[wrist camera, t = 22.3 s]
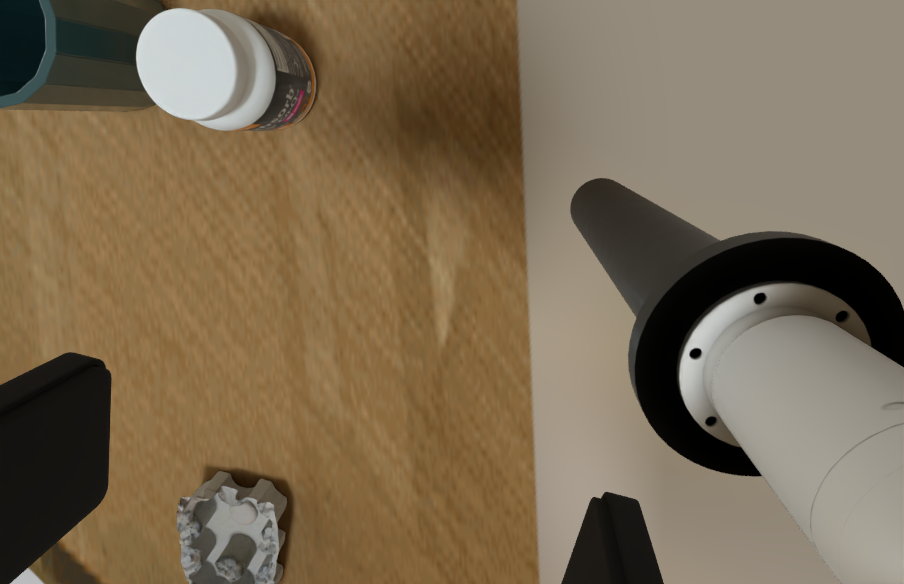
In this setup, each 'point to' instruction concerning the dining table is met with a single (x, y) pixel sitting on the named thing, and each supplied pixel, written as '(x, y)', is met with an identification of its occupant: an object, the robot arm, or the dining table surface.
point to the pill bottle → (224, 70)
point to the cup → (73, 54)
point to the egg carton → (231, 532)
